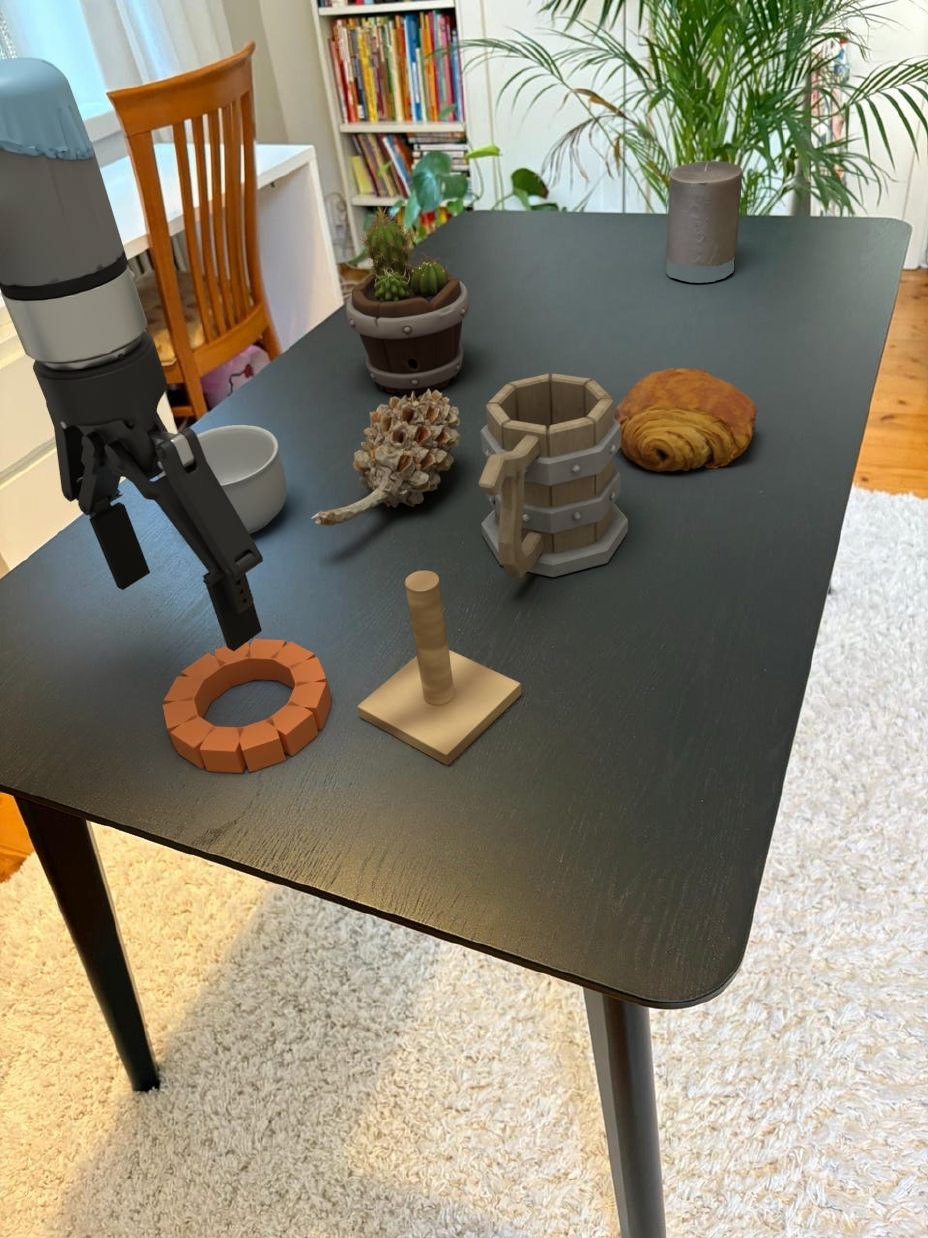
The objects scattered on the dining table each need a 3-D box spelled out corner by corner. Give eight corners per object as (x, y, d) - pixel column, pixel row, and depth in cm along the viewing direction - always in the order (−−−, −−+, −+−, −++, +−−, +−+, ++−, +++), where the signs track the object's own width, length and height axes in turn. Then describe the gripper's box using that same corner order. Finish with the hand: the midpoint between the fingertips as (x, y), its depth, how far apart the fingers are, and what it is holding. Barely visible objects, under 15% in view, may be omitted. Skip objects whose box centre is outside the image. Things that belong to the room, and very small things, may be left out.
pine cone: (403, 450, 107) (391, 365, 101) (483, 462, 104) (475, 375, 97) (296, 563, 92) (273, 472, 86) (384, 581, 89) (367, 488, 82)
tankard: (522, 489, 99) (512, 349, 89) (641, 512, 93) (645, 366, 84) (426, 605, 85) (403, 455, 76) (559, 639, 80) (552, 483, 71)
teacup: (315, 504, 100) (299, 435, 95) (246, 561, 93) (226, 490, 88) (214, 478, 106) (194, 411, 101) (143, 530, 99) (118, 461, 94)
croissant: (597, 483, 102) (591, 420, 96) (641, 398, 111) (638, 336, 106) (736, 502, 96) (738, 436, 91) (771, 410, 105) (774, 345, 100)
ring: (140, 728, 77) (131, 706, 75) (258, 642, 84) (252, 620, 82) (243, 798, 70) (235, 775, 68) (362, 697, 77) (357, 675, 75)
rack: (359, 717, 75) (331, 592, 68) (434, 652, 80) (415, 530, 73) (448, 766, 70) (428, 638, 63) (521, 694, 76) (512, 567, 68)
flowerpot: (498, 382, 118) (485, 211, 105) (382, 417, 114) (354, 243, 101) (448, 342, 129) (431, 182, 116) (340, 373, 124) (310, 210, 112)
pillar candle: (731, 258, 142) (740, 148, 133) (737, 283, 135) (747, 168, 126) (663, 261, 144) (667, 152, 135) (665, 286, 137) (670, 173, 127)
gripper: (267, 359, 56) (336, 637, 70) (35, 291, 70) (130, 536, 83) (164, 414, 52) (257, 699, 65) (-62, 331, 65) (54, 581, 79)
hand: (186, 608), depth 74 cm, fingers open, 13 cm apart
